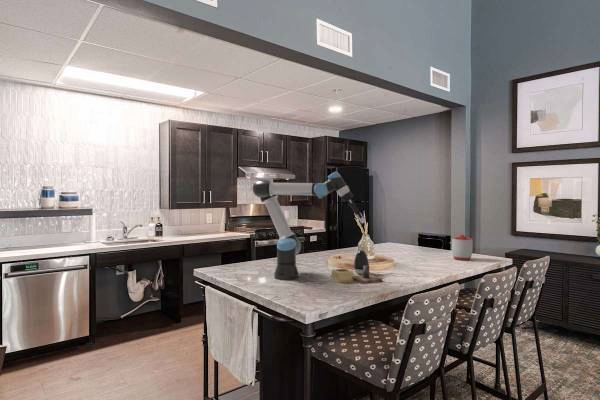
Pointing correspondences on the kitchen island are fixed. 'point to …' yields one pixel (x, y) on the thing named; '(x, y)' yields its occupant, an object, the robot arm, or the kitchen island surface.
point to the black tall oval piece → (360, 262)
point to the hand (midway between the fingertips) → (363, 222)
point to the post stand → (366, 277)
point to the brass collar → (342, 275)
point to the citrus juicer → (462, 247)
